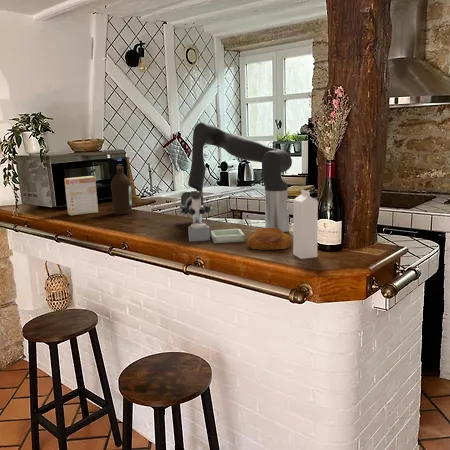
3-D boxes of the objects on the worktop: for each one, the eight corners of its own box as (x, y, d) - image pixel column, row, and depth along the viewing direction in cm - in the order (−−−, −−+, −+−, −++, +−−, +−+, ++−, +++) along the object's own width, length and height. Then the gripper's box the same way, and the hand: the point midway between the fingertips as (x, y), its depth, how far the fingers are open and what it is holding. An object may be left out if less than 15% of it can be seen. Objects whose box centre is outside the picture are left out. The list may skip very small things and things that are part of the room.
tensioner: (206, 232, 195) (206, 218, 194) (209, 240, 181) (209, 225, 180) (187, 234, 194) (186, 219, 193) (189, 241, 180) (188, 226, 179)
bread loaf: (289, 258, 162) (292, 235, 160) (244, 251, 165) (247, 229, 163) (291, 246, 176) (294, 226, 174) (250, 240, 179) (252, 219, 177)
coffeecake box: (95, 210, 259) (91, 175, 255) (98, 212, 253) (95, 176, 249) (67, 213, 252) (63, 177, 248) (70, 215, 246) (66, 178, 242)
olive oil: (112, 215, 242) (109, 167, 237) (113, 212, 252) (109, 165, 247) (133, 214, 244) (130, 166, 239) (133, 210, 255) (129, 165, 250)
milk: (300, 259, 152) (300, 192, 148) (293, 254, 158) (292, 190, 153) (317, 257, 154) (318, 191, 149) (309, 252, 160) (309, 188, 155)
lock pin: (203, 231, 193) (201, 190, 190) (204, 233, 189) (202, 191, 185) (192, 231, 193) (189, 191, 189) (192, 234, 188) (190, 192, 185)
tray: (239, 234, 190) (239, 228, 189) (245, 241, 178) (244, 235, 178) (210, 236, 188) (210, 230, 188) (213, 243, 177) (213, 236, 176)
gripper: (177, 198, 201) (179, 203, 184) (210, 196, 203) (214, 201, 186) (178, 215, 203) (180, 222, 186) (211, 213, 204) (215, 220, 188)
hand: (197, 212), depth 186 cm, fingers closed on lock pin, 3 cm apart
